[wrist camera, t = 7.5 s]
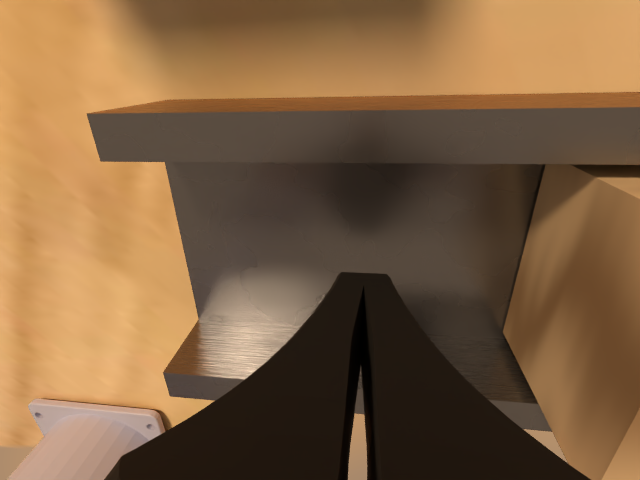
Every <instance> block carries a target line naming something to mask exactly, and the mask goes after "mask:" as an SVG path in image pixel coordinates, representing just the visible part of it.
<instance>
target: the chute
mask: <svg viewBox="0 0 640 480" xmlns="http://www.w3.org/2000/svg"><path fill="white" fill-rule="evenodd" d="M87 117H88V120H89V123H90V127H91V130H92V134H93V137H94V140H95V144H96V147H97V150H98V154H99V157H100V161H113V162H165V165H166V169H167V174H168V179H169V183H170V188H171V193H172V197H173V202H174V206H175V211H176V216H177V220H178V225H179V230H180V234H181V239H182V244H183V248H184V253H185V257H186V262H187V267H188V271H189V276H190V281H191V285H192V290H193V294H194V299H195V304H196V308H197V313H198V318H199V320H198V321H197V323H196V324H195V326H194V327H193V329H192V330H191V332H190V333H189V335H188V336H187V338H186V339H185V341H184V342H183V344H182V345H181V347H180V348H179V350H178V351H177V353H176V354H175V356H174V357H173V359H172V360H171V362H170V363H169V364H168V366H167V367H166V369H165V370H164V372H163V374H164V378H165V381H166V384H167V388H168V391H169V394H170V396H173V397H184V398H194V399H205V400H217V399H219V398H220V397H221V396H223V395H224V394H226V393H227V392H229V391H230V390H232V389H233V388H234V387H236V386H237V385H238V384H240V383H241V382H242V381H243V380H245V379H246V378H247V377H248V376H250V375H251V374H252V373H253V372H254V371H256V370H257V369H258V368H259V367H260V366H262V365H263V364H264V363H265V362H266V361H268V360H269V359H270V358H271V357H272V356H273V355H274V354H275V353H276V352H277V351H278V350H279V349H280V348H281V347H282V346H284V345H285V344H286V343H287V341H288V340H289V339H290V338H291V337H292V336H293V335H294V334H295V333H296V332H297V331H298V330H299V328H300V327H301V326H302V325H303V324H304V323H305V322H306V320H307V319H308V318H309V317H310V316H311V315H312V313H313V312H314V311H315V309H316V308H317V307H318V305H319V304H320V303H321V301H322V300H323V299H324V297H325V296H326V294H327V293H328V291H329V290H330V288H331V287H332V285H333V283H334V282H335V280H336V278H337V276H338V275H339V274H340V273H341V272H356V273H378V274H387V275H388V276H389V277H390V278H391V280H392V282H393V284H394V286H395V288H396V290H397V292H398V294H399V295H400V297H401V299H402V300H403V302H404V303H405V305H406V307H407V308H408V310H409V311H410V313H411V314H412V315H413V317H414V318H415V320H416V321H417V323H418V324H419V325H420V327H421V328H422V329H423V331H424V332H425V333H426V335H427V336H428V337H429V338H430V340H431V341H432V342H433V343H434V345H435V346H436V347H437V348H438V349H439V351H440V352H441V353H442V354H443V355H444V356H445V358H446V359H447V360H448V361H449V362H450V363H451V364H452V365H453V366H454V367H455V368H456V369H457V370H458V371H459V373H460V374H461V375H462V376H463V377H464V378H465V379H466V380H467V381H468V382H469V383H470V384H471V385H472V386H474V387H475V388H476V389H477V390H478V391H479V392H480V393H481V394H482V395H483V396H484V397H486V398H487V399H488V400H489V401H490V402H491V403H492V404H494V405H495V406H496V407H497V408H498V409H499V410H500V411H502V412H503V413H504V414H505V415H506V416H507V417H508V418H510V419H511V420H512V421H513V422H515V423H516V424H517V425H518V426H519V427H521V428H522V429H531V430H541V431H551V432H552V430H551V428H550V426H549V424H548V422H547V420H546V418H545V416H544V414H543V412H542V410H541V408H540V406H539V404H538V402H537V400H536V398H535V396H534V394H533V392H532V390H531V388H530V386H529V384H528V382H527V380H526V378H525V376H524V374H523V372H522V370H521V368H520V366H519V364H518V362H517V360H516V358H515V356H514V354H513V352H512V350H511V348H510V346H509V344H508V342H507V340H506V338H505V336H504V334H503V329H504V326H505V322H506V318H507V314H508V310H509V306H510V302H511V298H512V294H513V290H514V286H515V282H516V278H517V275H518V271H519V267H520V263H521V259H522V255H523V251H524V247H525V243H526V239H527V235H528V231H529V227H530V224H531V220H532V216H533V212H534V208H535V204H536V200H537V196H538V192H539V188H540V184H541V180H542V176H543V173H544V169H545V165H546V164H591V165H640V92H622V93H561V94H500V95H440V96H379V97H318V98H257V99H197V100H165V101H159V102H153V103H147V104H141V105H135V106H129V107H123V108H117V109H111V110H105V111H99V112H94V113H88V114H87ZM355 413H357V414H364V402H363V388H362V374H361V368H360V376H359V383H358V391H357V398H356V405H355Z"/></svg>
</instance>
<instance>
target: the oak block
mask: <svg viewBox="0 0 640 480" xmlns="http://www.w3.org/2000/svg"><path fill="white" fill-rule="evenodd" d="M503 334H504V336H505V338H506V340H507V342H508V344H509V346H510V348H511V350H512V352H513V354H514V356H515V358H516V360H517V362H518V364H519V366H520V368H521V370H522V372H523V374H524V376H525V378H526V380H527V382H528V384H529V386H530V388H531V390H532V392H533V394H534V396H535V398H536V400H537V402H538V404H539V406H540V408H541V410H542V412H543V414H544V416H545V418H546V420H547V422H548V424H549V426H550V428H551V430H552V432H553V433H554V436H555V438H556V440H557V442H558V444H559V446H560V448H561V450H562V452H563V454H564V456H565V458H566V460H567V462H568V464H569V465H571V466H572V467H574V468H575V469H576V470H578V471H579V472H581V473H582V474H584V475H585V476H587V477H588V478H589V479H591V480H640V165H591V164H546V165H545V169H544V173H543V176H542V180H541V184H540V188H539V192H538V196H537V200H536V204H535V208H534V212H533V216H532V220H531V224H530V227H529V231H528V235H527V239H526V243H525V247H524V251H523V255H522V259H521V263H520V267H519V271H518V275H517V278H516V282H515V286H514V290H513V294H512V298H511V302H510V306H509V310H508V314H507V318H506V322H505V326H504V329H503Z"/></svg>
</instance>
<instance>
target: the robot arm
mask: <svg viewBox="0 0 640 480" xmlns="http://www.w3.org/2000/svg"><path fill="white" fill-rule="evenodd" d="M360 368H361V374H362V388H363V402H364V415H365V428H366V442H367V465H368V467H367V480H591V479H589V478H588V477H587V476H585V475H584V474H582V473H581V472H579V471H578V470H576V469H575V468H574V467H572V466H571V465H569V464H568V463H566V462H565V461H563V460H562V459H561V458H560V457H558V456H557V455H555V454H554V453H553V452H552V451H550V450H549V449H548V448H546V447H545V446H543V445H542V444H541V443H540V442H538V441H537V440H536V439H535V438H533V437H532V436H531V435H530V434H528V433H527V432H526V431H524V430H523V429H522V428H521V427H519V426H518V425H517V424H516V423H515V422H513V421H512V420H511V419H510V418H508V417H507V416H506V415H505V414H504V413H503V412H502V411H500V410H499V409H498V408H497V407H496V406H495V405H494V404H492V403H491V402H490V401H489V400H488V399H487V398H486V397H484V396H483V395H482V394H481V393H480V392H479V391H478V390H477V389H476V388H475V387H474V386H472V385H471V384H470V383H469V382H468V381H467V380H466V379H465V378H464V377H463V376H462V375H461V374H460V373H459V371H458V370H457V369H456V368H455V367H454V366H453V365H452V364H451V363H450V362H449V361H448V360H447V359H446V358H445V356H444V355H443V354H442V353H441V352H440V351H439V349H438V348H437V347H436V346H435V345H434V343H433V342H432V341H431V340H430V338H429V337H428V336H427V335H426V333H425V332H424V331H423V329H422V328H421V327H420V325H419V324H418V323H417V321H416V320H415V318H414V317H413V315H412V314H411V313H410V311H409V310H408V308H407V307H406V305H405V303H404V302H403V300H402V299H401V297H400V295H399V294H398V292H397V290H396V288H395V286H394V284H393V282H392V280H391V278H390V277H389V276H388V275H387V274H378V273H356V272H341V273H340V274H339V275H338V276H337V278H336V280H335V282H334V283H333V285H332V287H331V288H330V290H329V291H328V293H327V294H326V296H325V297H324V299H323V300H322V301H321V303H320V304H319V305H318V307H317V308H316V309H315V311H314V312H313V313H312V315H311V316H310V317H309V318H308V319H307V320H306V322H305V323H304V324H303V325H302V326H301V327H300V328H299V330H298V331H297V332H296V333H295V334H294V335H293V336H292V337H291V338H290V339H289V340H288V341H287V343H286V344H285V345H284V346H282V347H281V348H280V349H279V350H278V351H277V352H276V353H275V354H274V355H273V356H272V357H271V358H270V359H269V360H268V361H266V362H265V363H264V364H263V365H262V366H260V367H259V368H258V369H257V370H256V371H254V372H253V373H252V374H251V375H250V376H248V377H247V378H246V379H245V380H243V381H242V382H241V383H240V384H238V385H237V386H236V387H234V388H233V389H232V390H230V391H229V392H227V393H226V394H224V395H223V396H221V397H220V398H219V399H217V400H216V401H214V402H213V403H211V404H210V405H208V406H207V407H205V408H204V409H202V410H201V411H199V412H198V413H196V414H195V415H193V416H191V417H190V418H188V419H187V420H185V421H183V422H182V423H180V424H178V425H176V426H175V427H173V428H171V429H169V430H168V431H166V432H165V429H164V426H163V422H162V419H161V416H160V414H159V413H158V412H156V411H155V410H151V409H141V408H130V407H120V406H110V405H100V404H90V403H79V402H69V401H59V400H49V399H34V400H33V401H32V402H31V403H30V404H29V405H28V408H29V410H30V412H31V414H32V415H33V417H34V419H35V421H36V423H37V425H38V426H39V428H40V430H41V432H42V434H43V435H44V437H43V438H42V440H41V441H40V442H39V443H38V444H37V445H36V446H35V448H34V449H33V450H32V451H31V452H30V453H29V454H28V456H27V457H26V458H25V459H24V460H23V461H22V462H21V464H20V465H19V466H18V467H17V468H16V469H15V471H14V472H13V473H12V474H11V475H10V476H9V477H8V478H7V479H6V480H348V463H349V452H350V442H351V435H352V428H353V419H354V413H355V405H356V398H357V391H358V383H359V376H360Z"/></svg>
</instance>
